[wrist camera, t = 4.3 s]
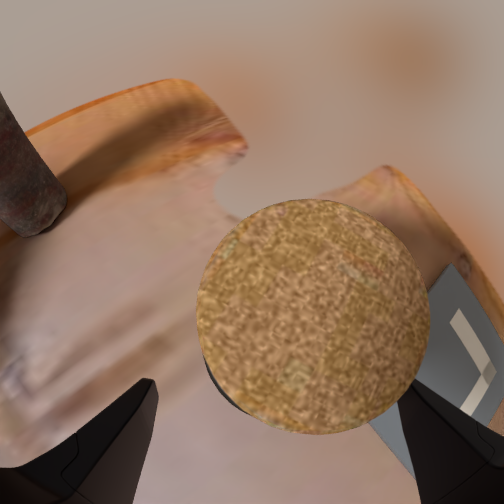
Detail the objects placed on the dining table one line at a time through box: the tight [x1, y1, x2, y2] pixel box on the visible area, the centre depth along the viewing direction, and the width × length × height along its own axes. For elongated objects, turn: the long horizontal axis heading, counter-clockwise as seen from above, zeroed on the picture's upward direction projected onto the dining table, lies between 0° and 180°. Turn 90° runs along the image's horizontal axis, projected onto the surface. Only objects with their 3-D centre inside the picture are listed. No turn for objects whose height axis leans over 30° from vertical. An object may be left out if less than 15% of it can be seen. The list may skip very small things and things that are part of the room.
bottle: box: [196, 199, 430, 435], centre depth 11 cm, size 6×6×15 cm
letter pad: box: [368, 263, 504, 480], centre depth 16 cm, size 16×16×1 cm
